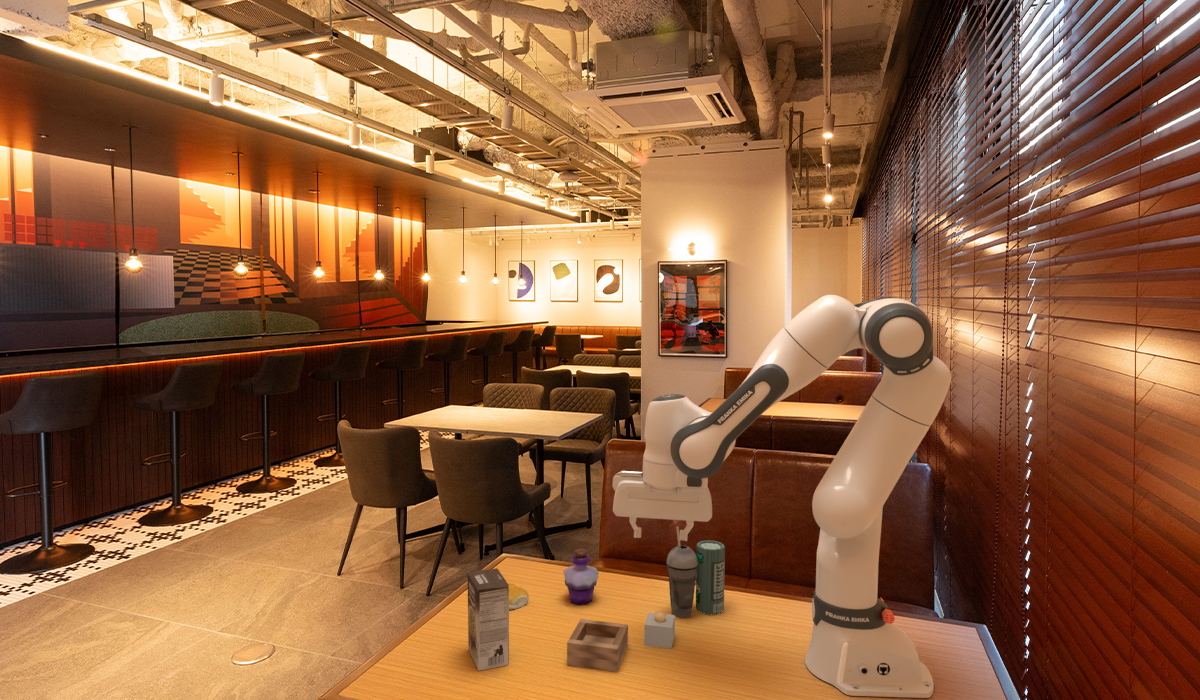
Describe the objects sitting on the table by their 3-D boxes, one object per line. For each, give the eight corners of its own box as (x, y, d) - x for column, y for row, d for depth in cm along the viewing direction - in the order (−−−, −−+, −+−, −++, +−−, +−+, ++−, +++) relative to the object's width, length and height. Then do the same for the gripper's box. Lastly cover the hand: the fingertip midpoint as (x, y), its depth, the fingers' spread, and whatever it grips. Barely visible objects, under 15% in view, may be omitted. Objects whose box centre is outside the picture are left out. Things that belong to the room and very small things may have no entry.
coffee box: (467, 649, 133) (466, 571, 132) (498, 643, 135) (497, 566, 134) (477, 672, 124) (476, 589, 123) (510, 665, 127) (509, 583, 126)
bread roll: (511, 591, 160) (511, 575, 160) (534, 603, 154) (534, 586, 154) (482, 602, 155) (482, 585, 154) (505, 614, 148) (505, 597, 148)
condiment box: (627, 645, 134) (628, 624, 134) (617, 672, 125) (617, 649, 124) (580, 639, 137) (580, 618, 136) (567, 665, 127) (567, 642, 127)
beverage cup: (696, 622, 144) (698, 533, 143) (663, 619, 146) (664, 531, 145) (698, 608, 151) (699, 523, 150) (667, 605, 153) (668, 520, 152)
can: (706, 600, 155) (707, 538, 154) (728, 608, 151) (729, 545, 150) (691, 608, 151) (691, 545, 150) (713, 617, 147) (714, 552, 146)
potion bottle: (567, 590, 160) (567, 542, 160) (602, 594, 159) (602, 545, 158) (558, 606, 152) (558, 555, 151) (594, 610, 150) (595, 558, 149)
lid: (674, 635, 139) (675, 609, 138) (671, 649, 133) (671, 621, 133) (648, 632, 140) (648, 606, 140) (644, 645, 135) (644, 618, 134)
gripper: (612, 474, 131) (609, 541, 132) (715, 480, 130) (711, 547, 131) (613, 465, 137) (610, 529, 139) (711, 471, 136) (707, 535, 138)
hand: (660, 538), depth 135 cm, fingers open, 8 cm apart
